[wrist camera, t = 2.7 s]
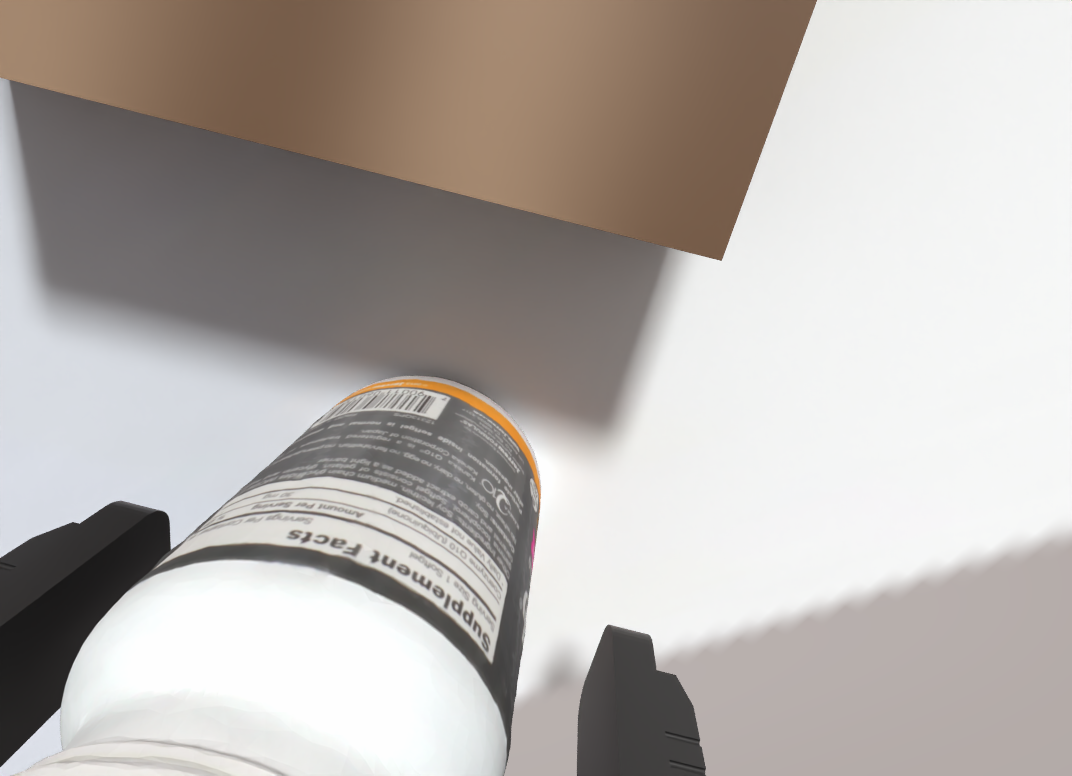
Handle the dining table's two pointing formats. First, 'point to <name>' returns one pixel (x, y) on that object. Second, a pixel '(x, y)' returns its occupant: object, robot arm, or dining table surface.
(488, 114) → the walnut base
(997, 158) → the dining table surface
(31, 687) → the robot arm
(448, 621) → the pill bottle
